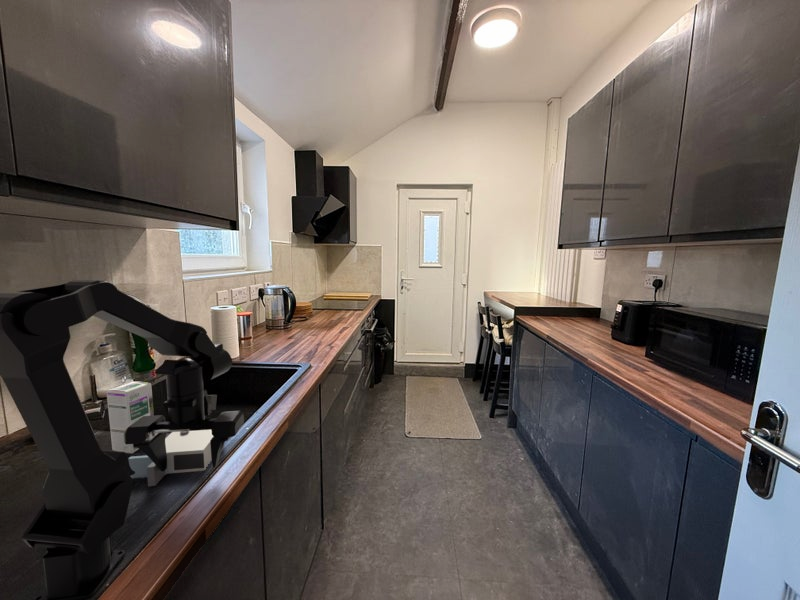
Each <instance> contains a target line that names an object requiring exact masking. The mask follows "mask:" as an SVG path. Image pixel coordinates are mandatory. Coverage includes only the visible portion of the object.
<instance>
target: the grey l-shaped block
mask: <svg viewBox="0 0 800 600" xmlns="http://www.w3.org/2000/svg"><path fill="white" fill-rule="evenodd" d="M128 459H129V465H130V467H131V469H132V470H133V471H135V474H134V475H131V477H132V479H133V478H144V477H147V486H148V487H156V486H157V484H158V483H159V482H160V481H161V480H162V479H163V478H164V477H165V476H166V475H167V473H168V470H167V468H166V470H165V471H161V470H160V469H159V468H158V467H157V466H156V465H155V464H154V462H153V461H152V460H151V459H150V458H149V457H148V456H147V455H146V454H145V455H136V456H130V457H128Z"/></svg>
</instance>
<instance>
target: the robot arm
mask: <svg viewBox="0 0 800 600" xmlns="http://www.w3.org/2000/svg"><path fill="white" fill-rule="evenodd" d="M92 317H95V318H98V319H100V320H101V321H104V322H107V323H109V324H111V325H113V326H116V327H117V328H120V329H123V330H125V331H128V332H129V333H132V334H135V335H136V336H139V337H141V338H143V339H144V340H146V341H147V343H148V345H149V347H150V348H152V349H153V350H154V351H156V352H157V353H159V355H162V356H166V357H167V356H169V357H185V358H179V359H165V360H164V361H163V363H162V364H161V365H160V366H159V367H157V368H156V369H155V371H154V373H155V375H159V376H160V375H161V376H165V379H166V383H165V384H166V397H167V400H165V401H164V402H163V409H167V413H168V421H166V417H165V416H164V415H163V414H159V415H158V414H157V415H154V416H143V417H142V418H140V419H139V420H137V421H136V422H135V423H133V424H132V425H131V426H129V427H128V428H127V429H126V430H125V432H124V443H125V444H133V447H134V448H139V450H140V451H141V452H142V453H143V454H144V455H145V456H146V455H147V456H148V457H149V458H150V459H151V460H152V461H153V462H154V464H155V465H156V466H157V467H158V468H159V469H160V470H161V471H165V470H166V468H167V454H166V445H165V438H166V437H167V433H172V432H180V431H196V430H212V435H213V438H212V439H211V440H210V445H211V459H212V461H211V464H212V468H216V467H217V465H218V463H219V459H220V457H221V454H222V452H223V449H224V447H223V445H225V442H227V441H229V439H230V438H232V437H235V436H237V434H238V432H239V431H240V430H241V428H242V426H243V425H244V423H245V414H243V412H242V411H241V410H230V411H221V413H220V414H219V415H218V416H217V417H216V418H206V417H207V416H210V415H211V413H212V411H216V409H217V399H218V398H217V397H218V395H217V394H208V391H207V389H204V383H205V382H209V381H211V380H213V379H215V378H217V377H219V376H221V375H223V374H225V373H227V372H228V371H229V370H230V369H231V368H232V365H233V358H232V356H231V355H230V353H229V351H227V350H226V349H224V345H223V343H213V341H212V340H211V338H210V337H209V335H208V332H207V330H206V329H205V328H204V327H203V326H202V325H197V324H195V323H191V322H186V321H182V320H175V319H173V318H170V317H168V316H167V315H164V313H163V314H162V313H161V312H159V311H157V310H155V309H153V307H150V306H149V305H147V304H145V303H143V302H141V301H139V300H138V299H136V298H134V297H133V296H131V295H128V294H127V293H125V292H123V291H121V290H120V289H118V288H117V287H116V285H115V284H113V283H112V282H110V281H106V280H103V279H102V280H101V279H100V280H97V279H96V280H95V279H93V280H92V279H74V280H70V281H67V282H66V281H65V282H63V283H59V284H54V285H47V286H42V287H35V288H29V289H22V290H17V291H0V377H1V378H2V381H3V383H4V384H5V386H6V388H7V390H8V392H9V394H10V396H11V398H12V400H13V403H14V404H15V406H16V408H17V410H18V412H19V413H20V416H21V418H22V420H23V422H24V423H25V426H26V428H27V430H28V431H29V433H30V435H31V438H32V439H33V441H34V444H35V446H36V448H37V449H38V452H39V453H40V455H41V457H42V459H43V461H44V463H45V465H46V467H47V469H48V474H47V476H46V479H45V480H44V481H45V482H44V484H43V487H42V495H43V498H44V499H43V500H44V503H43V505H42V507H41V508H40V509H39V511H38V513H37V514H36V515H35V517H34V519H33V520H32V521H31V523H30V524H29V526H28V527H27V529H26V530H25V532H24V533H23V534H22V536H21V540H22V541H23V542H24V543H25V544H26V545H27V546H28V547H29V548H45V549H46V553H45V555H43V557H42V561H43V570H44V578H45V586H44V588H43V589H42V590H41V591H40V592H39V593H38V594H37V595H36V596H35V597H34V598H33V600H74V599H75V600H76V599H78V600H83V599H82V598H85V599H87V598H86V597H89V598H91V597H93V596H94V595H95V593H96V592H97V591H98V589H100V587H101V586H102V584H103V583H104V582H105V581H106V579H107V578H108V577H109V575H110V574H111V573H112V572H113V570H114V569H115V568H116V566H117V565H118V564H117V563H118V562H119V563H120V561H121V560H122V559H123V558H124V556H125V555H126V552H125V551H126V550H124V549H121V550H120V549H119V550H118V549H117V550H113V549H114V540H113V539H114V538H113V534H114V533H116V532H117V531H118V530H119V529H121V528H122V527H123V526H124V524H125V522H126V516H127V513H128V510H129V509H128V508H129V505H130V499H131V495H132V490H133V489H134V482H133V481H134V480H133V478H132V477H131V475H134V474H135V471H133V470H132V469H131V467H130V465H129V459H128V458H129V456H128V455H127V453H125V452H118V451H113V450H103V449H102V448H101V446H100V444H99V442H98V439H97V437H96V435H95V432H94V429H93V427H92V425H91V423H90V420H89V418H88V416H87V413H86V411H85V408H84V405H83V403H82V402H81V401H82V400H81V398H80V396H79V394H78V391H77V390H76V386H75V385H74V382H73V380H72V377H71V376H70V375H71V374H70V373H69V371H68V368H67V366H66V363H65V360H64V357H65V354H66V351H67V348H68V345H69V343H70V340H71V331H70V328H71V327H73V326H75V325H78V324H82V323H84V322H86V321H88V320H89V319H90V318H92ZM187 357H189V358H187ZM222 448H223V449H222ZM121 558H122V559H121ZM116 564H117V565H116ZM115 565H116V566H115ZM114 567H115V568H114ZM113 568H114V569H113ZM111 571H112V572H111ZM110 572H111V573H110ZM90 596H91V597H90Z"/></svg>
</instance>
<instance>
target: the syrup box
mask: <svg viewBox="0 0 800 600" xmlns="http://www.w3.org/2000/svg"><path fill="white" fill-rule="evenodd" d="M152 389H153V388H152V383H150V382H146V381H130V382H127V383H126V384H122V385H119V386H117V387H114V388H110V389H108V390H106V400H107V401H106V402H107V409H108V410H107V411H108V419H109V430H110V437H111V438H110V441H111V448H112V449H111V451H118V452H125V453H126V454H131V455H132V454H134V453H135V452H137V451H139V450H140V449H139V448H134V447H133V444H125V443H124V432H125V430H126V429H127V428H128V427H129V426H131V425H132V424H133V423H135V422H136V421H137V420H139V419H140V418H142V417H143V416H155V415H154V413H155V412H154V401H153V390H152Z"/></svg>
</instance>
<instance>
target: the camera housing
mask: <svg viewBox="0 0 800 600" xmlns="http://www.w3.org/2000/svg"><path fill="white" fill-rule="evenodd" d="M212 438H213V435H212V430H196V431H180V432H170V434H168V435H167V436H166V438H165V445H166V454H167V470H168V473H167V474H168V475H169V474H179V473H191V472H202V471H203V472H204V470H205V471H206V470H207V468H208V467H209V465H210V463H211V462H212V461H211V460H212V459H211V445H210V440H211V439H212ZM224 445H225V444H224ZM224 445H223V448H222V450H223V449H224ZM210 461H211V462H210ZM208 464H209V465H208ZM206 467H207V468H206ZM167 474H166V475H167Z"/></svg>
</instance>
